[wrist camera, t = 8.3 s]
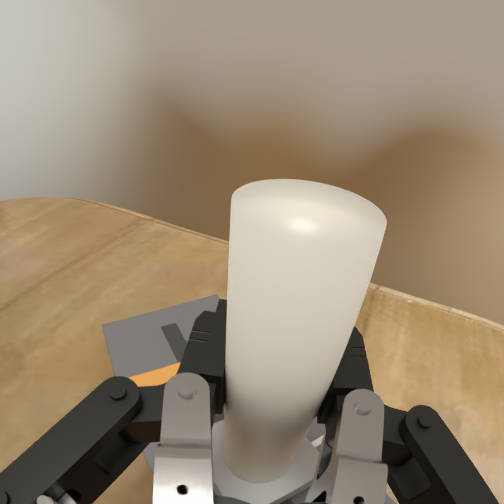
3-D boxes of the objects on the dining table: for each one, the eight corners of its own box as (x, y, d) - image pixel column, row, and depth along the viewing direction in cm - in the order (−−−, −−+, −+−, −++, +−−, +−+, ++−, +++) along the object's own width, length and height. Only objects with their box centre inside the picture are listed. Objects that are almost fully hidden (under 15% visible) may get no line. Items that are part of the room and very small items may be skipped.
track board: (107, 342, 23) (101, 323, 22) (216, 311, 28) (216, 293, 27) (301, 669, 3) (311, 679, 2) (441, 570, 7) (462, 565, 6)
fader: (190, 448, 14) (155, 180, 7) (270, 415, 16) (319, 165, 9) (236, 524, 10) (279, 318, 3) (321, 479, 13) (464, 237, 6)
